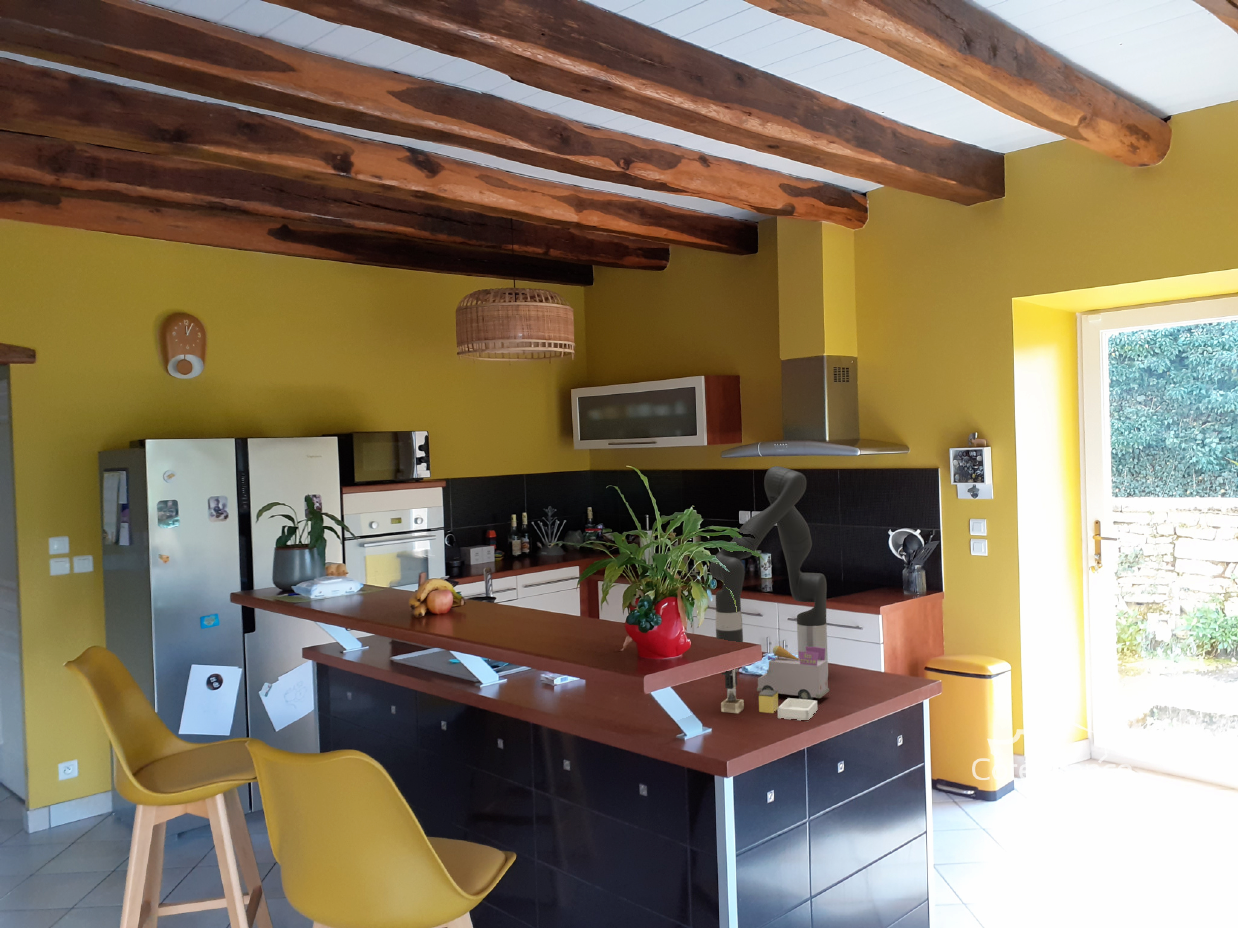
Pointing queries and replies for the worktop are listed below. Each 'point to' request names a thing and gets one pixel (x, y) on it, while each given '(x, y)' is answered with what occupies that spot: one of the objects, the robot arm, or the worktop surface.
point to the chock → (768, 701)
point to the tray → (797, 709)
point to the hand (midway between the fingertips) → (731, 686)
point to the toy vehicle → (796, 673)
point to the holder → (732, 706)
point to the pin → (732, 690)
